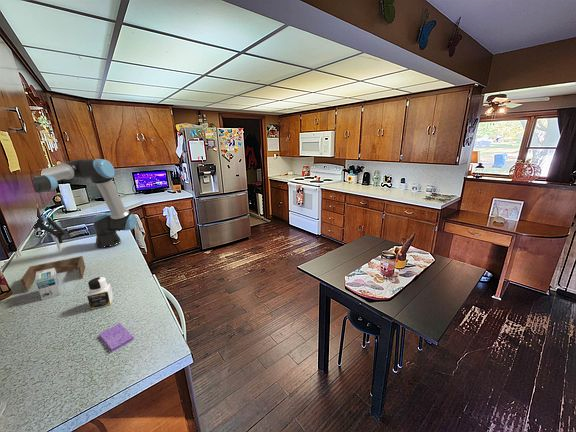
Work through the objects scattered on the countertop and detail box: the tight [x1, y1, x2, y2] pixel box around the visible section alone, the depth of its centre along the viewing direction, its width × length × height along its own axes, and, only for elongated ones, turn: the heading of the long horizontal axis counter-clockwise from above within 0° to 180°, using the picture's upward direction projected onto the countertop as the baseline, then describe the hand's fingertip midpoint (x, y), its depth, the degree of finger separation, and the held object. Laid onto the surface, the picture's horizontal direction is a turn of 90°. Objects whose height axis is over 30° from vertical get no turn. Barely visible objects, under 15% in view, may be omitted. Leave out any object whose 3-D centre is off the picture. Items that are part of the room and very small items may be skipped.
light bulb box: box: [34, 268, 62, 301], centre depth 112 cm, size 11×7×11 cm, turn 45°
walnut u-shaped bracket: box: [20, 255, 86, 293], centre depth 126 cm, size 22×17×7 cm
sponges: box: [98, 322, 135, 353], centre depth 86 cm, size 7×13×2 cm, turn 54°
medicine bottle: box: [86, 276, 114, 310], centre depth 104 cm, size 7×7×12 cm
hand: (40, 253), depth 108 cm, fingers open, 13 cm apart
